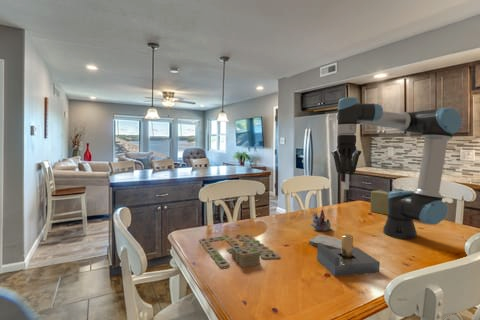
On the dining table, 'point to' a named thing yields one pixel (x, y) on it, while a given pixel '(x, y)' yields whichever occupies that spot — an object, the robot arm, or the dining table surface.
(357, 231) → the dining table surface
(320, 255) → the jig
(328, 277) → the dining table surface
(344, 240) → the tan cylinder
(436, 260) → the dining table surface
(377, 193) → the cheese
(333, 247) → the washcloth
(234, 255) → the pile of dominoes
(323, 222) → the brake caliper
